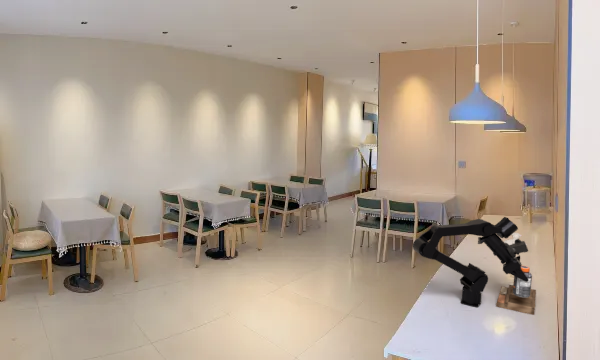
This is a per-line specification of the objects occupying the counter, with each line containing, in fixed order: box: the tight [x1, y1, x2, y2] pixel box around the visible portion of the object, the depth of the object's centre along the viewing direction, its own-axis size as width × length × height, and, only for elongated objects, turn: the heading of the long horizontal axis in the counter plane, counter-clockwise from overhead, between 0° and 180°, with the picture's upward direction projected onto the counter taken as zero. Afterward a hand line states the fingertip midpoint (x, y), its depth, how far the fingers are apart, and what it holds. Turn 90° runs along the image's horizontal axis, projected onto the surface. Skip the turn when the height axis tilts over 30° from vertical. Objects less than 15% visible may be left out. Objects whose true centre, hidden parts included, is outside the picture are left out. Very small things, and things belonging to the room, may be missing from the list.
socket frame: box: [495, 284, 537, 316], centre depth 162 cm, size 13×22×2 cm, turn 149°
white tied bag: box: [503, 232, 528, 247], centre depth 236 cm, size 12×8×11 cm
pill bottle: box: [512, 264, 533, 298], centre depth 153 cm, size 6×6×11 cm
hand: (527, 278), depth 153 cm, fingers closed on pill bottle, 6 cm apart
